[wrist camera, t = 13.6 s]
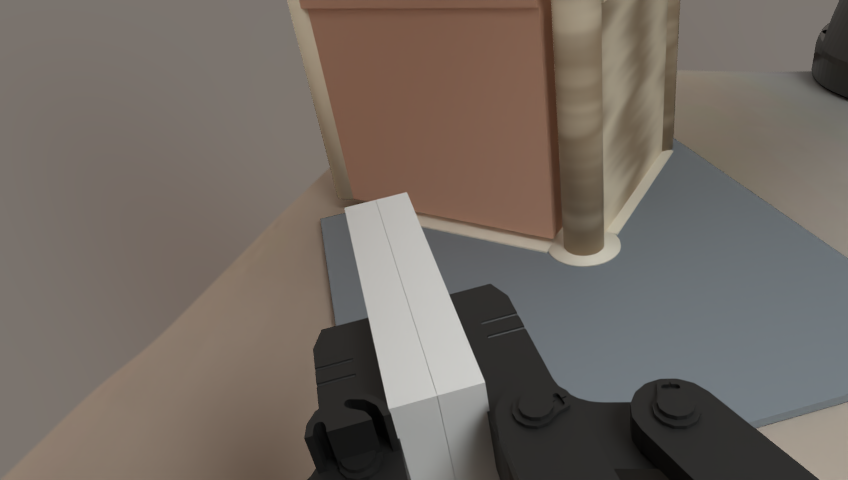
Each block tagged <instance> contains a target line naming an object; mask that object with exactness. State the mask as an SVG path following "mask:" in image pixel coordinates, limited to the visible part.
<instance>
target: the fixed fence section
mask: <svg viewBox="0 0 848 480" xmlns="http://www.w3.org/2000/svg"><path fill="white" fill-rule="evenodd" d="M551 5H552V25H553V44H554V64H555V84H556V103H557V123H558V143H559V163H560V182H561V202H562V222H563V241H564V248H565V250H566V251H567V252H569V253H571V254H573V255H578V256H589V255H593V254H596V253H598V252H600V251H601V250H602V249H603V247H604V234H605V232H606V231H607V229H608V228H609V226H610V225H611V224H612V222H613V221H614V219H615V218H616V216H617V215H618V214H619V212H620V211H621V209H622V208H623V206H624V205H625V204H626V202H627V201H628V199H629V198H630V196H631V195H632V194H633V192H634V191H635V189H636V188H637V186H638V185H639V184H640V182H641V181H642V179H643V178H644V176H645V175H646V174H647V172H648V171H649V169H650V168H651V166H652V165H653V163H654V162H655V161H656V159H657V158H658V156H659V155H660V153H661V152H662V151H666V150H671V149H672V148H673V133H674V113H675V93H676V73H677V53H678V34H679V14H680V0H551Z"/></svg>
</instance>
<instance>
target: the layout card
mask: <svg viewBox="0 0 848 480" xmlns="http://www.w3.org/2000/svg"><path fill="white" fill-rule="evenodd" d="M559 167H560V163H559ZM560 187H561V182H560ZM561 207H562V202H561ZM415 213H416V215H417V218H418V220H419V223H420V225H421V228H422V230H423V232H424V235H425V237H426V240H427V242H428V245H429V247H430V250H431V252H432V254H433V257H434V259H435V262H436V264H437V267H438V269H439V271H440V274H441V276H442V279H443V281H444V284H445V286H446V288H447V291H448V293H449V294H453V293H457V292H460V291H464V290H468V289H472V288H475V287H479V286H483V285H487V284H492V285H493V286H495V287H496V288H498V289H499V290H501V291H502V292H503V293H505V294H506V295H508V297H509V298H510V300H511V302H512V304H513V306H514V308H515V310H516V311H517V315H519V317H520V319H521V321H522V322H523V324H524V327H525V329H526V330H527V332H528V334H529V335H530V337H531V339H532V341H533V343H534V345H535V346H536V348H537V350H538V352H539V354H540V356H541V357H542V359H543V361H544V363H545V365H546V367H547V369H548V370H549V372H550V374H551V376H552V378H553V379H554V381H555V382H556V383H557V385H558V386H560V387H562V388H564V389H566V390H567V391H568V392H569V393H570V394H571V395H573V396H575V397H577V398H580V399H584V400H587V401H593V402H631V401H632V398H633V396H634V393H635V392H636V391H637V390H638V389H639V388H641V387H642V386H643V385H644V384H645V383H648V382H651V381H655V380H658V379H681V380H685V381H689V382H693V383H695V384H697V385H699V386H700V387H702V388H704V389H706V390H707V391H709V392H710V393H712V394H713V395H714V396H715V397H717V398H718V399H719V400H720V401H722V402H723V403H724V404H725V405H727V406H728V407H729V408H730V409H732V410H733V411H734V412H735V413H737V414H738V415H739V416H740V417H742V418H743V419H744V420H745V421H747V422H748V423H749V424H750V425H752V426H753V427H754V428H758V427H761V426H765V425H768V424H772V423H775V422H779V421H782V420H786V419H789V418H793V417H796V416H800V415H803V414H807V413H810V412H814V411H817V410H821V409H824V408H827V407H831V406H834V405H838V404H841V403H845V402H848V258H846V257H845V256H844V255H842V254H841V253H839V252H838V251H836V250H835V249H833V248H832V247H831V246H829V245H828V244H826V243H825V242H823V241H822V240H820V239H819V238H818V237H816V236H815V235H813V234H812V233H810V232H809V231H807V230H806V229H805V228H803V227H802V226H800V225H799V224H797V223H796V222H794V221H793V220H792V219H790V218H789V217H787V216H786V215H784V214H783V213H781V212H780V211H779V210H777V209H776V208H774V207H773V206H771V205H770V204H768V203H767V202H766V201H764V200H763V199H761V198H760V197H758V196H757V195H755V194H754V193H753V192H751V191H750V190H748V189H747V188H745V187H744V186H742V185H741V184H740V183H738V182H737V181H735V180H734V179H732V178H731V177H729V176H728V175H726V174H725V173H724V172H722V171H721V170H719V169H718V168H716V167H715V166H713V165H712V164H711V163H709V162H708V161H706V160H705V159H703V158H702V157H700V156H699V155H698V154H696V153H695V152H693V151H692V150H690V149H689V148H687V147H686V146H685V145H683V144H682V143H680V142H679V141H677V140H676V139H674V138H673V148H672V149H671V150H666V151H662V152H661V153H660V155H659V156H658V158H657V159H656V161H655V162H654V163H653V165H652V166H651V168H650V169H649V171H648V172H647V174H646V175H645V176H644V178H643V179H642V181H641V182H640V184H639V185H638V186H637V188H636V189H635V191H634V192H633V194H632V195H631V196H630V198H629V199H628V201H627V202H626V204H625V205H624V206H623V208H622V209H621V211H620V212H619V214H618V215H617V216H616V218H615V219H614V221H613V222H612V224H611V225H610V226H609V228H608V229H607V231H606V232H605V234H604V247H603V249H602V250H601V251H600V252H598V253H596V254H593V255H589V256H578V255H573V254H571V253H569V252H567V251H566V250H565V248H564V241H563V227H562V228H561V230H560V231H559V232H558V233H557V235H556V236H555V237H554V238H553V239H550V238H545V237H540V236H535V235H530V234H525V233H520V232H516V231H511V230H506V229H501V228H496V227H491V226H486V225H481V224H476V223H471V222H466V221H461V220H456V219H451V218H446V217H441V216H436V215H431V214H426V213H421V212H417V211H415ZM320 220H321V227H322V234H323V241H324V248H325V254H326V261H327V268H328V275H329V282H330V289H331V296H332V302H333V309H334V316H335V323H336V326H338V325H342V324H346V323H349V322H353V321H357V320H361V319H365V318H368V313H367V309H366V304H365V300H364V295H363V291H362V286H361V281H360V277H359V272H358V268H357V263H356V259H355V254H354V250H353V245H352V241H351V236H350V231H349V227H348V222H347V218H346V213H343V214H339V215H335V216H330V217H326V218H322V219H320ZM562 226H563V222H562Z"/></svg>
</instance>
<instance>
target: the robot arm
mask: <svg viewBox="0 0 848 480" xmlns="http://www.w3.org/2000/svg"><path fill="white" fill-rule="evenodd" d="M812 74H813V76H814V78H815V79H816V80H817V81H818V82H819V83H820V84H821V85H822V86H824V87H826V88H827V89H829V90H831V91H833V92H835V93H837V94H840V95H842V96H845V97H848V0H839V3H838V5H837V7H836V9H835V12H834V14H833V16H832V19H831V21H830V23H829V24H827V25H826V26H825V27H824V28H823V29H822V31H821V33H820V35H819V37H818V39H817V42H816V47H815V53H814V59H813V65H812ZM344 209H345V213H346V218H347V222H348V227H349V231H350V236H351V241H352V245H353V250H354V254H355V259H356V263H357V268H358V272H359V277H360V281H361V286H362V291H363V295H364V300H365V304H366V309H367V313H368V318H365V319H361V320H357V321H353V322H349V323H346V324H342V325H338V326H334V327H331V328H327V329H323V330H321V333H320V335H319V337H318V339H317V342H316V344H315V346H314V349H313V352H314V363H315V370H316V372H315V373H316V383H317V394H318V404H319V409H318V410H317V411H315V413H314V414H313V416H312V417H311V419H310V420H309V422H308V423H307V426H306V432H305V438H304V439H305V441H306V444H307V446H308V449H309V451H310V454H311V456H312V459H313V461H314V464H315V466H316V469H315V471H314V472H313V474H312V475H311V477H310V478H309V479H308V480H819V479H818V478H817V477H815V476H814V475H813V474H812V473H810V472H809V471H808V470H807V469H805V468H804V467H803V466H802V465H800V464H799V463H798V462H797V461H795V460H794V459H793V458H792V457H790V456H789V455H788V454H787V453H785V452H784V451H783V450H782V449H780V448H779V447H778V446H777V445H775V444H774V443H773V442H772V441H770V440H769V439H768V438H767V437H765V436H764V435H763V434H762V433H760V432H759V431H758V430H757V429H755V428H754V427H753V426H752V425H750V424H749V423H748V422H747V421H745V420H744V419H743V418H742V417H740V416H739V415H738V414H737V413H735V412H734V411H733V410H732V409H730V408H729V407H728V406H727V405H725V404H724V403H723V402H722V401H720V400H719V399H718V398H717V397H715V396H714V395H713V394H712V393H710V392H709V391H707V390H706V389H704V388H702V387H700V386H699V385H697V384H695V383H693V382H689V381H685V380H681V379H658V380H655V381H651V382H648V383H645V384H644V385H643V386H642V387H641V388H639V389H638V390H637V391H636V392H635V393H634V396H633V398H632V401H631V402H593V401H587V400H584V399H580V398H577V397H575V396H573V395H571V394H570V393H569V392H568V391H567V390H566V389H564V388H562V387H560V386H558V385H557V383H556V382H555V381H554V379H553V378H552V376H551V374H550V372H549V370H548V369H547V367H546V365H545V363H544V361H543V359H542V357H541V356H540V354H539V352H538V350H537V348H536V346H535V345H534V343H533V341H532V339H531V337H530V335H529V334H528V332H527V330H526V329H525V327H524V324H523V322H522V321H521V319H520V317H519V315H517V311H516V310H515V308H514V306H513V304H512V302H511V300H510V298H509V297H508V295H506V294H505V293H503V292H502V291H501V290H499V289H498V288H496V287H495V286H493V285H492V284H487V285H483V286H479V287H475V288H472V289H468V290H464V291H460V292H457V293H453V294H449V293H448V291H447V288H446V286H445V284H444V281H443V279H442V276H441V274H440V271H439V269H438V267H437V264H436V262H435V259H434V257H433V254H432V252H431V250H430V247H429V245H428V242H427V240H426V237H425V235H424V232H423V230H422V228H421V225H420V223H419V220H418V218H417V215H416V213H415V211H414V208H413V206H412V203H411V201H410V198H409V196H408V194H407V192H405V193H401V194H397V195H393V196H389V197H385V198H381V199H377V200H373V201H369V202H365V203H361V204H357V205H353V206H349V207H345V208H344Z"/></svg>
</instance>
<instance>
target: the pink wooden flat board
mask: <svg viewBox="0 0 848 480" xmlns="http://www.w3.org/2000/svg"><path fill="white" fill-rule="evenodd" d="M287 2H288V6H289V10H290V14H291V17H292V21H293V25H294V29H295V33H296V36H297V40H298V44H299V48H300V52H301V56H302V60H303V64H304V68H305V72H306V76H307V79H308V83H309V87H310V91H311V95H312V99H313V103H314V106H315V110H316V114H317V118H318V122H319V126H320V130H321V134H322V138H323V141H324V145H325V149H326V153H327V157H328V161H329V165H330V169H331V172H332V176H333V180H334V184H335V188H336V192H337V196H338V198H340V199H343V200H350V199H357V200H362V201H367V202H369V201H373V200H377V199H381V198H385V197H389V196H393V195H397V194H401V193H405V192H407V194H408V196H409V198H410V201H411V203H412V206H413V208H414V211H417V212H421V213H426V214H431V215H436V216H441V217H446V218H451V219H456V220H461V221H466V222H471V223H476V224H481V225H486V226H491V227H496V228H501V229H506V230H511V231H516V232H520V233H525V234H530V235H535V236H540V237H545V238H550V239H553V238H554V237H555V236H556V235H557V233H558V232H559V231H560V230H561V228H562V227H563V226H562V207H561V187H560V167H559V148H558V128H557V109H556V89H555V69H554V50H553V30H552V11H551V0H287Z"/></svg>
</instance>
